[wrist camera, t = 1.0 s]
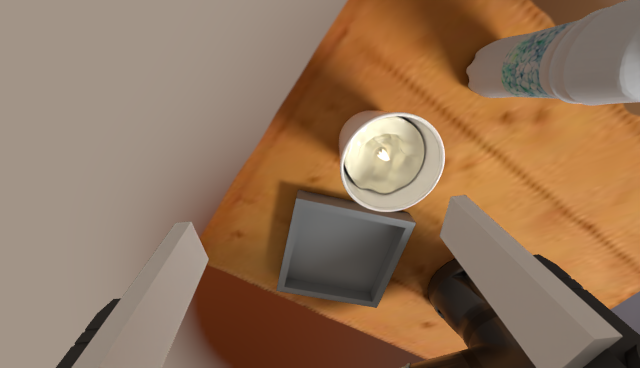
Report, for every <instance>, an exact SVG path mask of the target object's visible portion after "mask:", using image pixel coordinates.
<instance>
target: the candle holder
mask: <svg viewBox="0 0 640 368" xmlns="http://www.w3.org/2000/svg"><path fill="white" fill-rule="evenodd" d="M339 156H340V174H341V179H342V182H343V185H344V187H345V189H346V191H347V192H348V194H349V195H350V196H351V197H352V198H353V199H354V200H355V201H356V202H357V203H359V204H360V205H362V206H364V207H366V208H368V209H371V210H374V211H380V212H393V211H399V210H402V209H405V208H408V207H410V206H413V205H414V204H416V203H418V202H419V201H421V200H422V199H423V198H425V197H426V196H427V195H428V194H429V193H430V192H431V191H432V189H433V188H434V187H435V185H436V184H437V182H438V181H439V179H440V176H441V174H442V171H443V168H444V162H445V151H444V145H443V142H442V139H441V137H440V135H439V133H438V132H437V130H436V129H435V128H434V127H433V126H432V125H431V124H430V123H429V122H428V121H426V120H425V119H423V118H421V117H419V116H417V115H414V114H410V113H404V112H386V111H377V110H367V111H362V112H359V113H357V114H355V115H354V116H352V117H351V118H350V119H349V120H348V121H347V122H346V123H345V124H344V126H343V127H342V129H341V132H340V135H339Z"/></svg>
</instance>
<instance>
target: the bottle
mask: <svg viewBox="0 0 640 368" xmlns="http://www.w3.org/2000/svg"><path fill="white" fill-rule="evenodd" d="M466 73H467V74H468V76H469V81H470V82H469V84H468V87H469V88H470V89H471V90H472V91H474V92H476V93H477V94H479V95H481V96H483V97H489V98H503V97H533V98H559V99H560V100H562V101H564V102H568V103H576V104H577V103H581V104H584V105H601V104H613V103H628V102H640V0H628V1H624V2H621V3H618V4H616V5H614V6H612V7H608V8H603V9H600V10H598V11H595V12H593V13H591V14H589V15H587V16H586V17H584V18H583V19H581V20H578V21H575V22H571V23H567V24H563V25H559V26H556V27H552V28H548V29H544V30H541V31H537V32H533V33H529V34H524V35H518V36H512V37H508V38H503V39H500V40H497V41H494V42H492V43H490V44H488V45H487V46H485V47H483V48H481V49H480V50H479V51H478V52H477V53H476V54H475V59H474V60H473V62H472V63H471V65H469V66H468V68H467V71H466Z"/></svg>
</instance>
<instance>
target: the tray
mask: <svg viewBox="0 0 640 368" xmlns="http://www.w3.org/2000/svg"><path fill="white" fill-rule="evenodd" d="M415 224H416V222H415V221H414V219H413V218H412V217H411V215H410V214H409V213H406V212H401V211H393V212H380V211H374V210H371V209H368V208H366V207H364V206H362V205H360V204H359V203H357V202H354V201H349V200H345V199H340V198H335V197H330V196H326V195H321V194H316V193H311V192H307V191H302V190H298V192H297V197H296V201H295V206H294V211H293V215H292V220H291V225H290V229H289V234H288V239H287V243H286V248H285V252H284V257H283V262H282V266H281V271H280V276H279V280H278V285H277V290H276V291H280V292H286V293H292V294H298V295H304V296H310V297H316V298H322V299H328V300H334V301H340V302H346V303H351V304H357V305H363V306H369V307H375V308H377V306H378V304H379V302H380V300H381V298H382V296H383V293H384V291H385V289H386V287H387V285H388V283H389V280H390V278H391V276H392V274H393V272H394V270H395V268H396V265H397V263H398V261H399V259H400V257H401V255H402V252H403V250H404V248H405V246H406V244H407V242H408V239H409V237H410V235H411V233H412V231H413V229H414V227H415Z"/></svg>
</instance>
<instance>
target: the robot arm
mask: <svg viewBox="0 0 640 368" xmlns="http://www.w3.org/2000/svg"><path fill="white" fill-rule="evenodd" d="M440 237H441V239H442V240H443V241H444V243H445V244H446V246H447V247H448V248H449V250H450V251H451V252H452V254H453V255H454V256H455V258H456V259H455V260H452V261H450V262H449V263H447V264H445V265H444V266H443V267H441V268H440V269H439V270H438V271H437V272H436V273H435V275H434V276H433V277H432V279H431V281H430V283H429V287H428V296H429V299H430V301H431V303H432V305H433V307H434V309H435V310H436V312H437V313H438V314H439V315H440V316H441V317H442V318H443V319H444V320H445V321H446V322H447V323H448V325H449V326H450V327H451V328H452V329H453V330H454V331H455V332H456V333H457V334H458V335H459V336H460V337H461V338H462V339H463V340H464V342H465V344H466V345H467V347H468V349H466V350H462V351H458V352H455V353H451V354H447V355H443V356H440V357H436V358H432V359H429V360H425V361H421V362H418V363H414V364H410V363H408V364H407V365H406V366H404V367H401V368H640V335H639V334H638V333H637V332H635V331H634V330H633V329H632V328H631V327H629V326H628V325H627V324H626V323H625V322H624V321H622V320H621V319H620V318H619V317H618V316H617V315H615V314H614V313H613V312H612V311H611V310H609V309H608V308H607V307H606V306H605V305H604V304H602V303H601V302H600V301H599V300H598V299H596V298H595V297H594V296H593V295H592V294H591V293H589V292H588V291H587V290H584V289H583V287H582V286H581V285H580V284H579V283H578V282H576V281H575V280H574V279H571V276H569V275H568V274H567V273H566V272H565V271H563V270H562V269H561V268H560V267H559V266H558V265H556V264H555V263H553V262H551V261H550V260H548V259H546V258H544V257H543V256H541V255H539V254H538V255H532V254H531V253H529V252H528V251H527V250H526V249H525V248H524V247H523V246H522V245H521V244H519V243H518V242H517V241H516V240H515V239H514V238H513V237H512V236H510V235H509V234H508V233H507V232H506V231H505V230H504V229H503V228H502V227H500V226H499V225H498V224H497V223H496V222H495V221H494V220H493V219H492V218H490V217H489V216H488V215H487V214H486V213H485V212H484V211H483V210H481V209H480V208H479V207H478V206H477V205H476V204H475V203H474V202H473V201H471V200H470V199H469V198H468V197H467V196H466V195H462V196H452V197H451V198H450V201H449V205H448V208H447V212H446V216H445V219H444V223H443V226H442V230H441V233H440ZM208 260H209V259H208V256H207V254H206V252H205V250H204V248H203V246H202V244H201V241H200V239H199V237H198V235H197V233H196V231H195V229H194V226H193V224H192V222H181V223H175V224H174V226H173V227H172V229H171V230H170V231H169V233H168V234H167V235H166V237H165V238H164V240H163V241H162V243H161V244H160V245H159V247H158V248H157V249H156V251H155V252H154V254H153V255H152V257H151V258H150V259H149V261H148V262H147V263H146V265H145V266H144V268H143V269H142V270H141V272H140V273H139V275H138V276H137V277H136V279H135V280H134V282H133V283H132V284H131V286H130V287H129V289H128V290H127V291H126V293H125V294H124V295H123V297H122V298H121V299H113V300H112V301H111V302H110V303H109V304H107V305H106V306H105V307H104V308H103V309H102V310H101V311H100V312H99V313H97V315H96V316H95V317H94V319H93V320H92V321H91V322H90V324H89V325H88V326H87V328H86V329H85V332H84V333H82V334H81V336H80V337H79V338H78V339H77V341H76V342H75V345H74V346H73V347H71V349H70V350H69V351H68V352H67V354H66V355H65V356H64V358H63V359H62V360H61V362H60V363H59V364H58V366H57V367H56V368H162V366H163V363H164V361H165V359H166V356H167V354H168V352H169V349H170V347H171V345H172V343H173V340H174V338H175V336H176V334H177V331H178V329H179V327H180V324H181V322H182V320H183V317H184V315H185V313H186V311H187V308H188V306H189V304H190V302H191V299H192V297H193V295H194V292H195V290H196V288H197V285H198V283H199V281H200V278H201V276H202V274H203V271H204V269H205V267H206V265H207V263H208Z"/></svg>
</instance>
